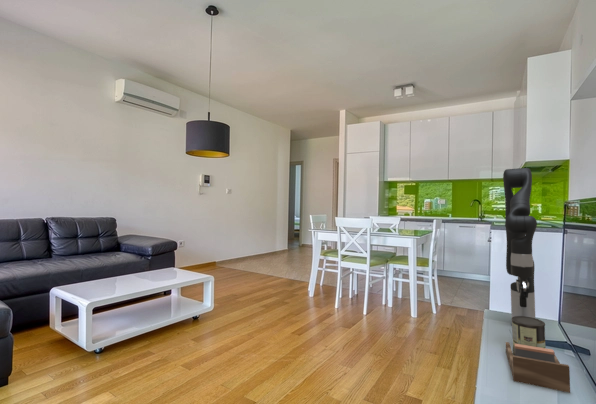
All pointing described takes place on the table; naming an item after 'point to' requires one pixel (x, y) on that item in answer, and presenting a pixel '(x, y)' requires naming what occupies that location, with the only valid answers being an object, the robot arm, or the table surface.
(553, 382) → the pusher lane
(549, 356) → the pusher paddle
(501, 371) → the table surface
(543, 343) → the coffee can
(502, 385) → the table surface
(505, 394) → the table surface
